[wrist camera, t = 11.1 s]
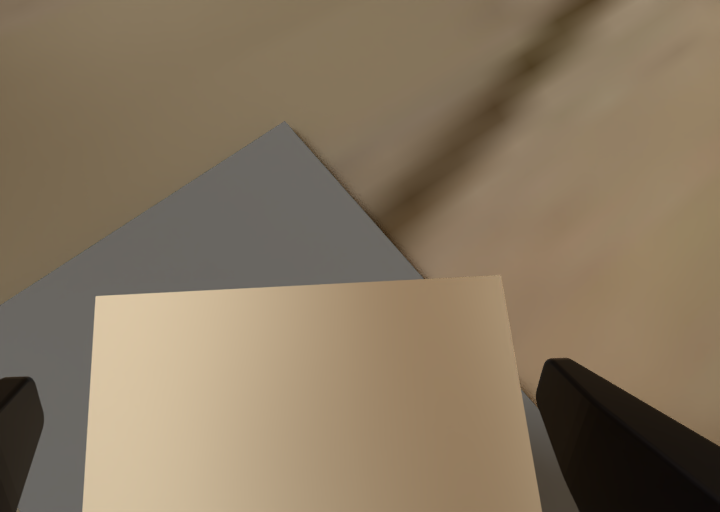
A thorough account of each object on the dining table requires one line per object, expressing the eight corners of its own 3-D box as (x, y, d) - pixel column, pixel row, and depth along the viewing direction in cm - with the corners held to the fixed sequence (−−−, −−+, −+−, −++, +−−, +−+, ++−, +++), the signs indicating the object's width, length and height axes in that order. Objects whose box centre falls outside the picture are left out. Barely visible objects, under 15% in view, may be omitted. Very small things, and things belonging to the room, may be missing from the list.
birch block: (224, 538, 15) (60, 849, 4) (222, 382, 17) (95, 296, 5) (373, 519, 16) (581, 740, 5) (360, 371, 18) (501, 274, 6)
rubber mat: (291, 900, 14) (291, 913, 13) (-75, 360, 16) (-83, 358, 16) (617, 504, 18) (623, 506, 17) (284, 126, 20) (284, 121, 20)
